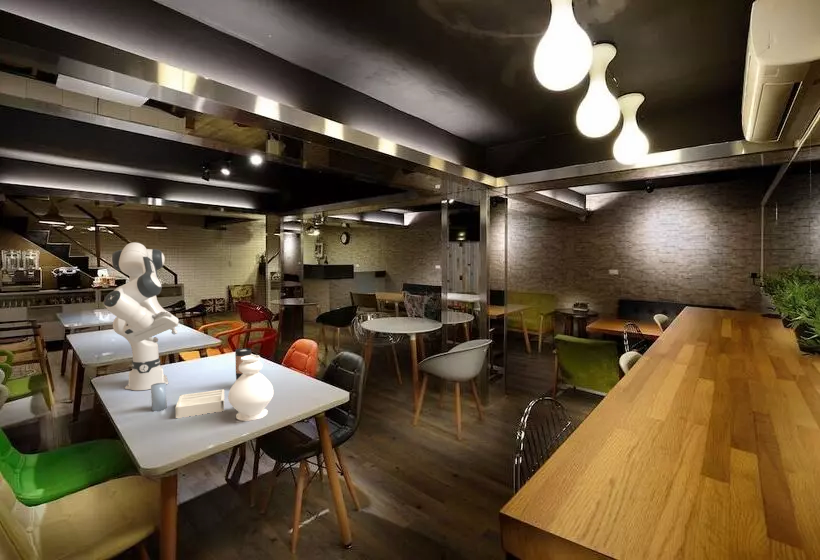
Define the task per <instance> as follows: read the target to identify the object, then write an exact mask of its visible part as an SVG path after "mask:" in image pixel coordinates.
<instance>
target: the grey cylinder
mask: <svg viewBox="0 0 820 560" xmlns="http://www.w3.org/2000/svg"><path fill="white" fill-rule="evenodd" d="M150 394H151V395H150V398H151V412H154V411H157V412H162V411H164V409H165V410H167V406H168V404H167V401H168V400H167V384H166V383H156V384H153V385H151V389H150ZM161 410H162V411H161Z"/></svg>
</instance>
